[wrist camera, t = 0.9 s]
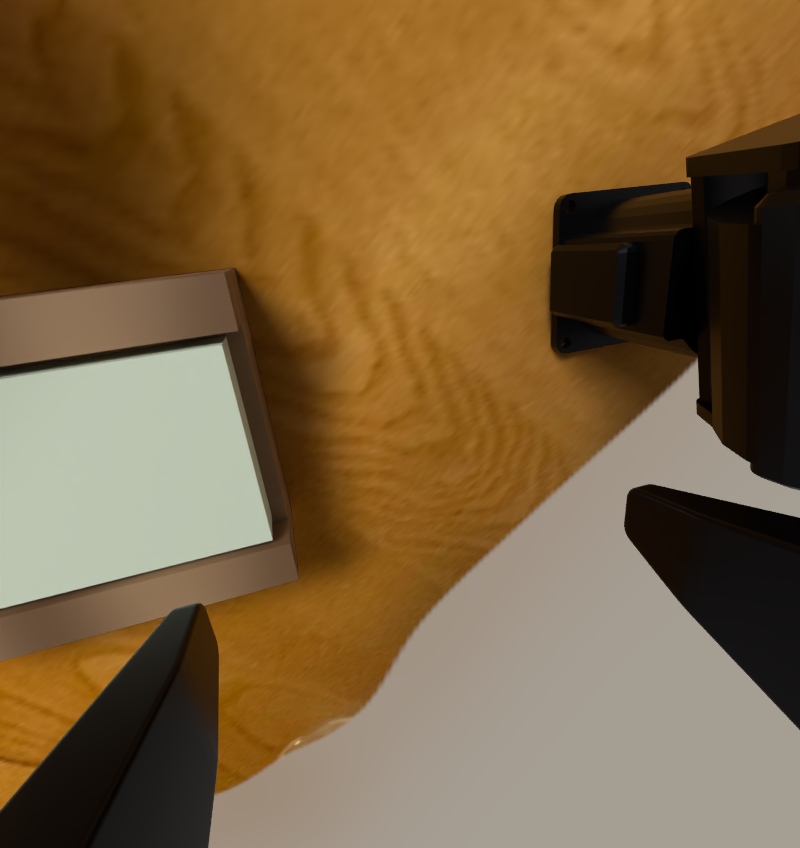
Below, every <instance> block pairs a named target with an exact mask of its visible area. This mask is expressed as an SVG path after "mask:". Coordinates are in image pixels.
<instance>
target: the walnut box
mask: <svg viewBox="0 0 800 848" xmlns="http://www.w3.org/2000/svg"><path fill="white" fill-rule="evenodd" d="M223 336H226V338H227V342H228V346H229V350H230V354H231V357H232V361H233V365H234V369H235V373H236V377H237V381H238V385H239V389H240V393H241V397H242V401H243V405H244V409H245V412H246V416H247V420H248V424H249V428H250V432H251V436H252V440H253V444H254V448H255V452H256V456H257V460H258V464H259V467H260V471H261V475H262V479H263V483H264V487H265V491H266V495H267V499H268V503H269V507H270V511H271V515H272V534H273V540H272V541H268V542H264V543H260V544H256V545H252V546H248V547H244V548H240V549H236V550H232V551H228V552H224V553H220V554H216V555H212V556H208V557H204V558H200V559H196V560H192V561H188V562H184V563H180V564H176V565H172V566H168V567H164V568H160V569H156V570H152V571H148V572H144V573H140V574H136V575H132V576H128V577H125V578H121V579H117V580H113V581H109V582H105V583H101V584H97V585H93V586H89V587H85V588H81V589H77V590H73V591H69V592H65V593H61V594H57V595H53V596H49V597H45V598H41V599H37V600H33V601H29V602H25V603H21V604H17V605H13V606H9V607H5V608H1V609H0V662H1V661H5V660H8V659H12V658H15V657H19V656H23V655H26V654H30V653H34V652H37V651H41V650H45V649H48V648H52V647H56V646H59V645H63V644H67V643H70V642H74V641H78V640H81V639H85V638H89V637H92V636H96V635H99V634H103V633H107V632H110V631H114V630H118V629H121V628H125V627H129V626H132V625H136V624H140V623H143V622H147V621H151V620H154V619H158V618H162V617H165V616H167V615H168V614H169V613H170V612H171V611H172V610H173V609H175V608H178V607H182V606H186V605H190V604H193V603H201V604H203V606H205V605H209V604H213V603H216V602H220V601H224V600H227V599H231V598H235V597H238V596H242V595H246V594H249V593H253V592H257V591H260V590H264V589H267V588H271V587H275V586H278V585H282V584H286V583H289V582H293V581H297V580H299V576H298V567H297V558H296V549H295V540H294V531H293V522H292V513H291V505H290V501H289V497H288V492H287V488H286V484H285V480H284V475H283V471H282V467H281V463H280V458H279V454H278V450H277V445H276V441H275V437H274V433H273V428H272V424H271V420H270V415H269V411H268V407H267V403H266V398H265V394H264V390H263V385H262V381H261V377H260V373H259V368H258V364H257V360H256V355H255V351H254V347H253V343H252V338H251V334H250V330H249V326H248V321H247V317H246V313H245V308H244V304H243V300H242V296H241V291H240V287H239V283H238V278H237V274H236V270H235V268H229V269H221V270H213V271H204V272H196V273H188V274H179V275H171V276H163V277H155V278H146V279H138V280H130V281H122V282H113V283H105V284H97V285H88V286H80V287H72V288H64V289H55V290H47V291H39V292H31V293H22V294H14V295H6V296H0V370H5V369H12V368H19V367H25V366H32V365H38V364H45V363H51V362H58V361H65V360H71V359H78V358H84V357H91V356H98V355H104V354H111V353H117V352H124V351H130V350H137V349H144V348H150V347H157V346H163V345H170V344H177V343H183V342H190V341H196V340H203V339H209V338H216V337H223Z"/></svg>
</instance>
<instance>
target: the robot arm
mask: <svg viewBox="0 0 800 848" xmlns="http://www.w3.org/2000/svg"><path fill="white" fill-rule="evenodd" d="M686 171H687V177H691V185H690V184H689V183H688V182H678V183H669V184H659V185H649V186H639V187H630V188H620V189H610V190H600V191H590V192H581V193H571V194H566V195H563V196H560V197H559V198H558V199H557V201H556V203H555V206H554V225H553V251H552V252H551V296H550V310H551V312H552V326H551V345H552V348H553V349H554V350H555V351H557V352H560V353H571V352H576V351H581V350H586V349H592V348H597V347H602V346H607V345H613V344H618V343H623V342H628V341H629V342H634V343H638V344H642V345H646V346H651V347H655V348H659V349H663V350H668V351H672V352H676V353H680V354H685V355H689V356H693V357H697V358H698V371H699V395H700V398H699V399H697V401H696V403H697V414H698V415H699V416H700V417H701V418H702V419H703V420H705V421H706V422H707V423H708V424H710V425H711V426H712V427H713V429H714V431H715V433H716V434H717V436H718V438H719V439H720V441H721V442H722V444H723V445H725V446H726V447H728V448H729V449H730V450H732V451H733V452H735V453H736V454H738V455H739V456H740V457H742V458H743V459H745V460H746V461H749V462H751V464H750V468H751V471H752V472H753V473H754V474H756V475H758V476H760V477H762V478H764V479H767V480H769V481H772V482H775V483H778V484H781V485H783V486H786V487H789V488H793V489H797V490H800V114H798V115H795V116H793V117H790V118H788V119H785V120H782V121H780V122H777V123H774V124H772V125H769V126H767V127H764V128H761V129H759V130H756V131H754V132H751V133H748V134H746V135H743V136H741V137H738V138H735V139H733V140H730V141H727V142H725V143H722V144H720V145H717V146H714V147H712V148H709V149H707V150H704V151H701V152H699V153H696V154H694V155H691V156H688V157H686ZM567 202H568V203H569V204H570V210H569V212H568V214H567V213H566V211H565V205H566V203H567ZM563 338H566V341H565V344H564V345H563V346H562V345H561V342H562V340H563ZM624 527H625V531H626V534H627V536H628V538H629V539H630V540H631V542H632V543H633V544H634V546H635V547H636V548H637V549H638V551H639V552H640V553H641V554H642V556H643V557H644V558H645V559H646V561H647V562H648V563H649V565H650V566H651V567H652V568H653V569H654V571H655V572H656V573H657V575H658V576H659V577H660V578H661V580H662V581H663V582H664V583H665V585H666V586H667V587H668V588H669V590H670V591H671V592H672V593H673V595H674V596H675V597H676V598H677V600H678V601H679V602H680V603H681V604H682V605H683V607H684V608H685V609H686V610H687V611H688V612H689V613H690V614H691V615H692V617H693V618H695V620H696V621H697V622H698V623H699V624H700V625H701V626H702V627H703V628H704V629H705V630H706V631H707V632H708V633H709V634H710V636H712V638H713V639H714V640H715V641H716V642H717V643H718V644H719V645H720V646H721V647H722V648H723V649H724V650H725V651H726V652H727V654H728V655H729V656H730V657H731V658H732V659H733V660H734V661H735V662H736V663H737V664H738V665H739V666H740V667H741V668H742V669H743V670H744V671H745V672H746V674H747V675H748V676H749V677H750V678H751V679H752V680H753V681H754V682H755V683H756V684H757V685H758V686H759V687H760V688H761V689H762V691H763V692H764V693H765V694H766V695H767V696H768V697H769V698H770V699H771V700H772V701H773V702H774V703H775V704H776V705H777V706H778V707H779V709H780V710H781V711H782V712H784V714H786V716H787V717H788V718H789V719H790V720H791V721H792V722H793V723H794V724H795V725H796V726H797V727H798V728H799V730H800V518H798V517H794V516H789V515H785V514H780V513H776V512H772V511H767V510H763V509H759V508H754V507H750V506H745V505H741V504H737V503H732V502H728V501H723V500H719V499H715V498H710V497H706V496H701V495H697V494H693V493H688V492H684V491H679V490H675V489H671V488H666V487H662V486H657V485H652V484H649V485H644V486H640V487H637V488H633V489H631V490H630V491H629V493H628V495H627V503H626V513H625V522H624ZM218 695H219V652H218V645H217V641H216V637H215V635H214V632H213V629H212V626H211V623H210V620H209V617H208V615H207V612H206V609H205V607H204V606H203V604H201V603H193V604H190V605H186V606H182V607H178V608H175V609H173V610H172V611H171V612H170V613H169V614H168V615H167V616H166V618H165V619H164V620H163V621H162V622H161V623H160V625H159V626H158V627H157V628H156V629H155V630H154V632H153V633H152V634H151V635H150V636H149V637H148V639H147V640H146V641H145V642H144V643H143V644H142V646H141V647H140V648H139V649H138V650H137V651H136V653H135V654H134V655H133V656H132V657H131V658H130V660H129V661H128V662H127V663H126V664H125V665H124V667H123V668H122V669H121V670H120V671H119V672H118V674H117V675H116V676H115V677H114V678H113V679H112V681H111V682H110V683H109V684H108V685H107V687H106V688H105V689H104V690H103V691H102V692H101V694H100V695H99V696H98V697H97V698H96V699H95V701H94V702H93V703H92V704H91V705H90V706H89V708H88V709H87V710H86V711H85V712H84V713H83V715H82V716H81V717H80V718H79V719H78V720H77V722H76V723H75V724H74V725H73V726H72V727H71V729H70V730H69V731H68V732H67V733H66V734H65V736H64V737H63V738H62V739H61V740H60V741H59V743H58V744H57V745H56V746H55V747H54V748H53V750H52V751H51V752H50V753H49V754H48V755H47V757H46V758H45V759H44V760H43V761H42V762H41V764H40V765H39V766H38V767H37V768H36V769H35V771H34V772H33V773H32V774H31V775H30V776H29V778H28V779H27V780H26V781H25V782H24V783H23V785H22V786H21V787H20V788H19V789H18V791H17V792H16V793H15V794H14V795H13V796H12V798H11V799H10V800H9V801H8V802H7V803H6V805H5V806H4V807H3V808H2V809H1V810H0V848H208V844H209V836H210V827H211V818H212V810H213V801H214V792H215V784H216V774H217V762H218Z"/></svg>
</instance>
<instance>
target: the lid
mask: <svg viewBox="0 0 800 848" xmlns="http://www.w3.org/2000/svg"><path fill="white" fill-rule="evenodd" d="M272 540H273V534H272V515H271V511H270V507H269V503H268V499H267V495H266V491H265V487H264V483H263V479H262V475H261V471H260V467H259V464H258V460H257V456H256V452H255V448H254V444H253V440H252V436H251V432H250V428H249V424H248V420H247V416H246V412H245V409H244V405H243V401H242V397H241V393H240V389H239V385H238V381H237V377H236V373H235V369H234V365H233V361H232V357H231V354H230V350H229V346H228V342H227V338H226V336H223V337H216V338H209V339H203V340H196V341H190V342H183V343H177V344H170V345H163V346H157V347H150V348H144V349H137V350H130V351H124V352H117V353H111V354H104V355H98V356H91V357H84V358H78V359H71V360H65V361H58V362H51V363H45V364H38V365H32V366H25V367H19V368H12V369H5V370H0V609H1V608H5V607H9V606H13V605H17V604H21V603H25V602H29V601H33V600H37V599H41V598H45V597H49V596H53V595H57V594H61V593H65V592H69V591H73V590H77V589H81V588H85V587H89V586H93V585H97V584H101V583H105V582H109V581H113V580H117V579H121V578H125V577H128V576H132V575H136V574H140V573H144V572H148V571H152V570H156V569H160V568H164V567H168V566H172V565H176V564H180V563H184V562H188V561H192V560H196V559H200V558H204V557H208V556H212V555H216V554H220V553H224V552H228V551H232V550H236V549H240V548H244V547H248V546H252V545H256V544H260V543H264V542H268V541H272Z"/></svg>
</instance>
